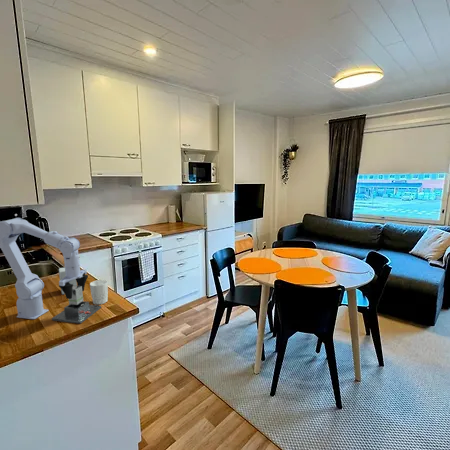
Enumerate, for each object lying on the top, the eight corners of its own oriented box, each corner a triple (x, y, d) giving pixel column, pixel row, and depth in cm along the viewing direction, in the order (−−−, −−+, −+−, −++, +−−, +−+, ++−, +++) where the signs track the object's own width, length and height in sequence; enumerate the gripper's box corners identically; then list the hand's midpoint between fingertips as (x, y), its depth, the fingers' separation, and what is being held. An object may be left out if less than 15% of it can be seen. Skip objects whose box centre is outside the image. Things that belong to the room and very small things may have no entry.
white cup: (111, 301, 135) (110, 282, 133) (95, 306, 130) (93, 287, 128) (104, 296, 140) (103, 278, 139) (89, 301, 135) (87, 282, 133)
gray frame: (52, 320, 118) (50, 310, 117) (75, 305, 131) (74, 296, 130) (80, 323, 115) (79, 313, 114) (101, 307, 129) (100, 298, 128)
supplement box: (77, 291, 146) (75, 269, 144) (61, 294, 142) (59, 272, 140) (76, 286, 152) (73, 265, 150) (60, 289, 148) (58, 268, 146)
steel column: (69, 304, 120) (67, 288, 119) (75, 299, 124) (74, 285, 123) (77, 304, 120) (75, 289, 118) (83, 300, 124) (82, 285, 122)
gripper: (68, 272, 111) (71, 302, 114) (91, 261, 125) (93, 288, 128) (53, 271, 112) (56, 301, 115) (77, 260, 126) (80, 287, 129)
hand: (75, 294), depth 121 cm, fingers open, 7 cm apart
